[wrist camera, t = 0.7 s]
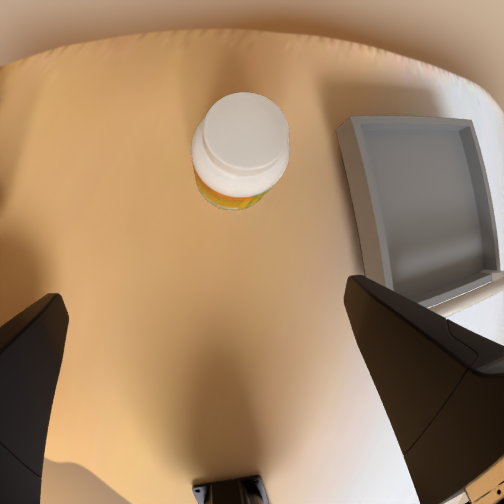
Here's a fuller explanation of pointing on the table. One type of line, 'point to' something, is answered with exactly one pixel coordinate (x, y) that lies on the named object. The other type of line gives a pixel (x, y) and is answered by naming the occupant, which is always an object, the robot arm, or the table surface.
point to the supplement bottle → (240, 150)
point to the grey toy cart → (423, 208)
